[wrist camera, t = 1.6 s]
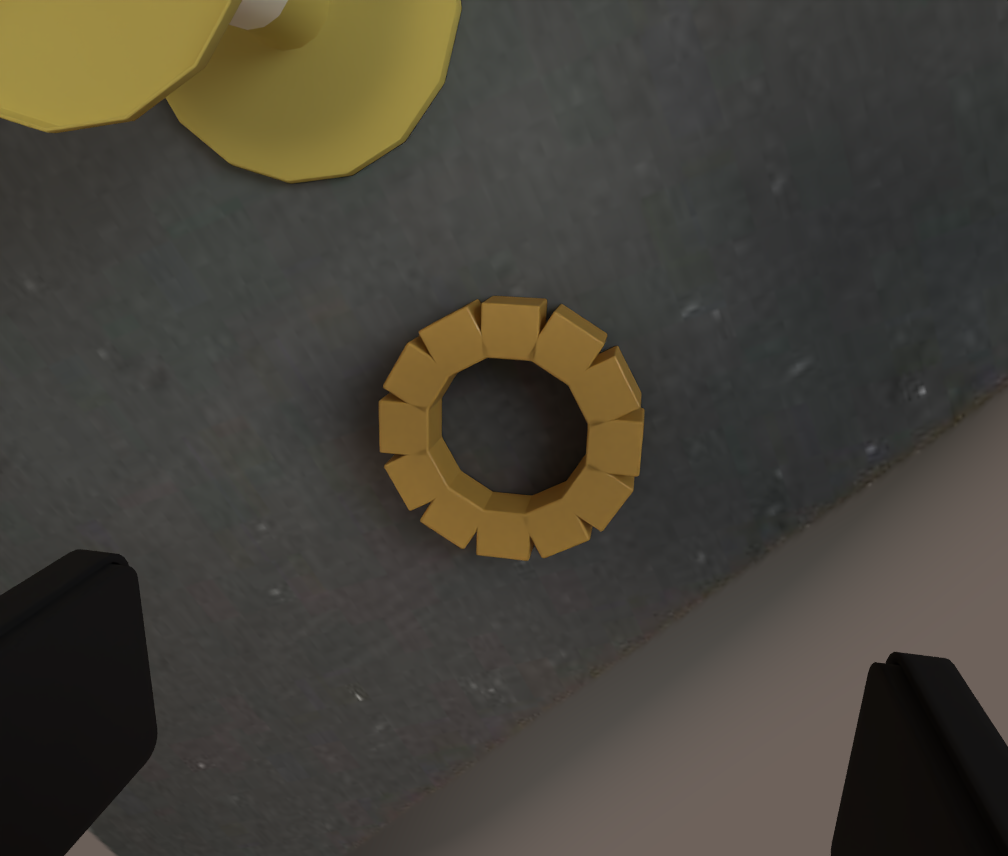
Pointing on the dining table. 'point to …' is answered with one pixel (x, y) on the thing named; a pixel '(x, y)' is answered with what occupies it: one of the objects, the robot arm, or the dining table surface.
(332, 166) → the candle
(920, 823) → the robot arm
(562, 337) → the ring
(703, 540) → the dining table surface
